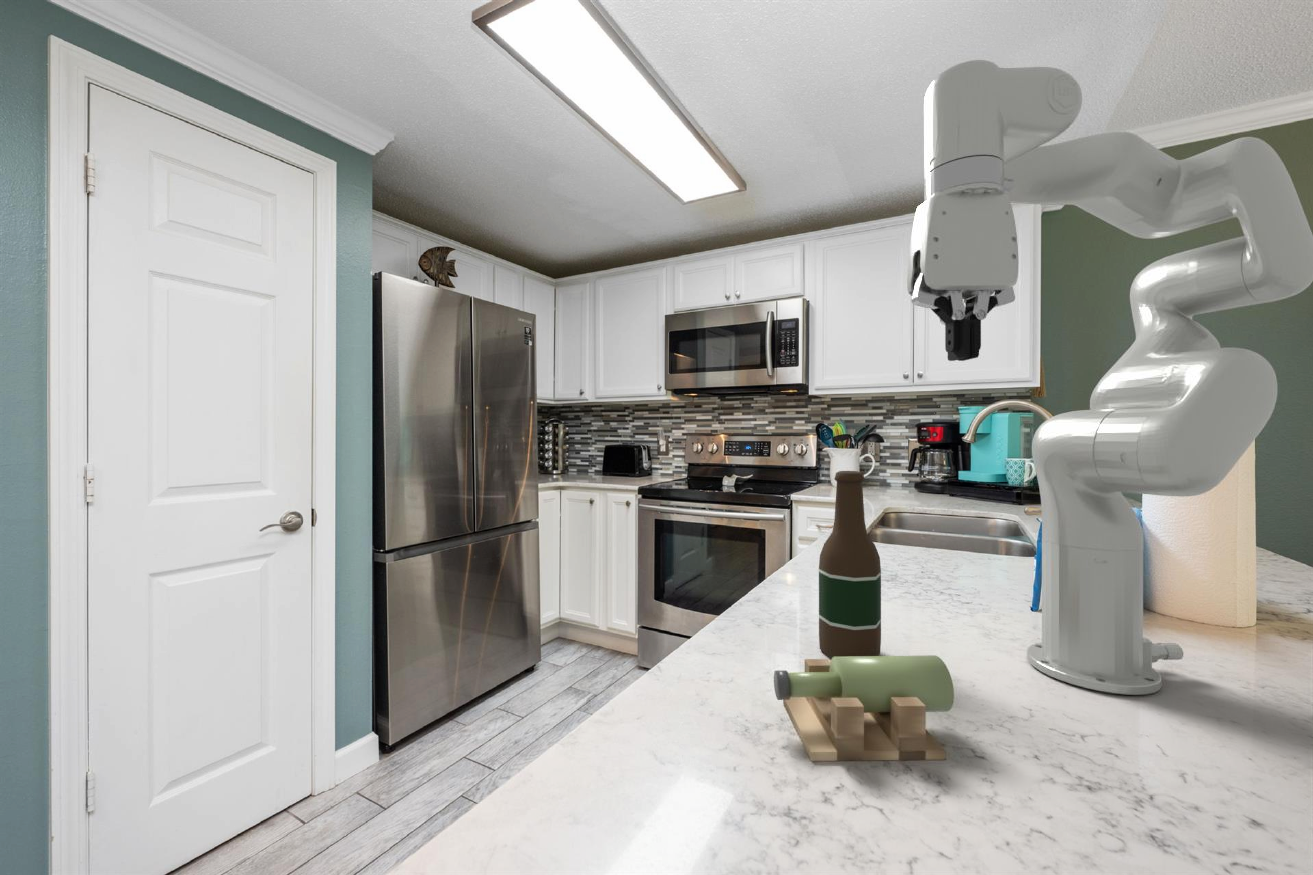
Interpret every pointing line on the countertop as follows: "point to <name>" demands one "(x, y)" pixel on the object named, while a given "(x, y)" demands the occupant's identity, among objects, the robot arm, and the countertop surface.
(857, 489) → the beer bottle
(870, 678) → the bottle
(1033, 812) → the countertop surface
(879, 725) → the rest
